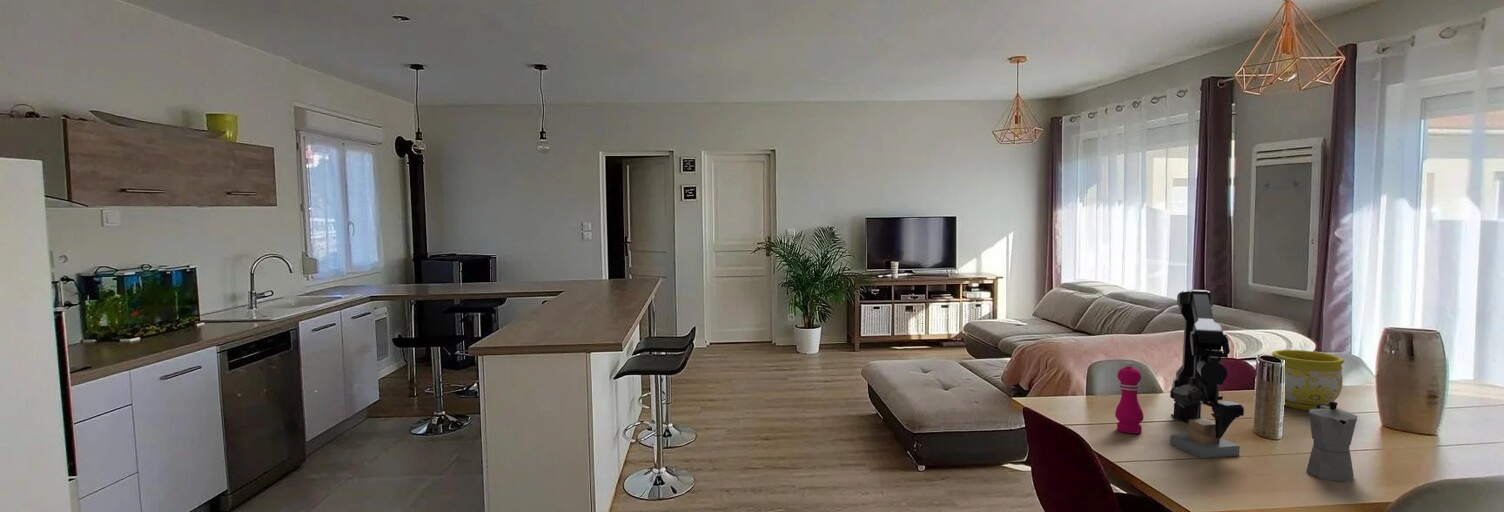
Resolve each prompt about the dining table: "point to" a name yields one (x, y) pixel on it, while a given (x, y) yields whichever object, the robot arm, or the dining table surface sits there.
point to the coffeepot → (1331, 443)
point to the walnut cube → (1202, 431)
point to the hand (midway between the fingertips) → (1204, 432)
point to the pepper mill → (1129, 401)
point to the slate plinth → (1204, 447)
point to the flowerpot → (1310, 378)
